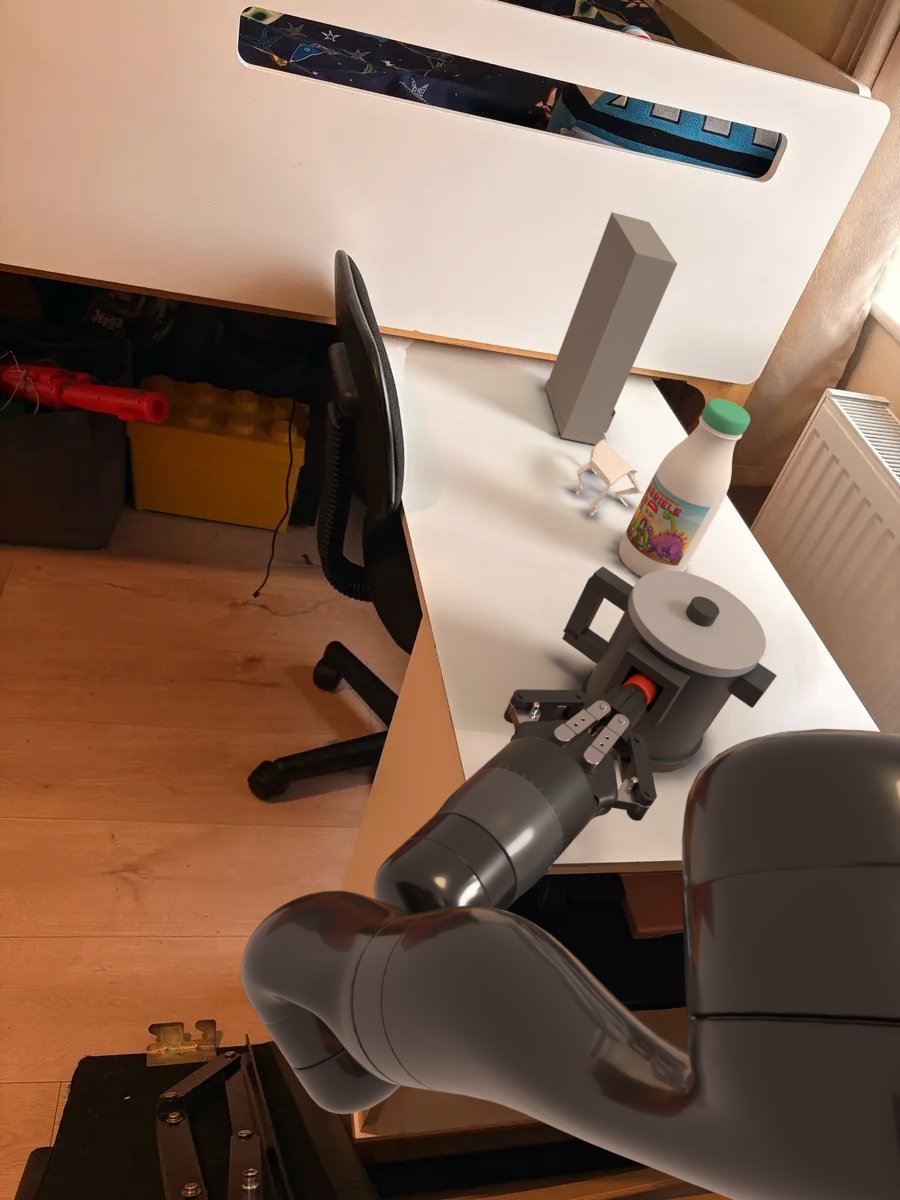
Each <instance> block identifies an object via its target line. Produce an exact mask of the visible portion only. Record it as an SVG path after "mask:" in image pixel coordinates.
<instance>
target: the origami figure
mask: <svg viewBox="0 0 900 1200" xmlns="http://www.w3.org/2000/svg"><path fill="white" fill-rule="evenodd" d="M588 469H591V470H592V472H593V473H594V474H595V475H597V476H599V478H600V479H601V480H602V482H603V483H604V485H606V486H605V487H604V489H603V490H602V491H601V492H600V494H599V495H598V496H596V498H595V499H594V500H592V502H590V507H592V508H593V509H592V510H591V511H589V513H588V515H589V516H590V517H593V516H594V515H595V513H596V512H597V511H598V506H597V505H598V504H599V503H600V502H601V501H602V500H603V499H604V497H605V496H606V494H607V493H608V492H609V490H610V488H611V487H613V486H614V485H615V484H616V482H618V481H619V480H620V479H622V478H623V477H625V476H627V478H628V479H629V481H630V482H631V485H633V487H631V488H626V489H622V490H618V491H614V494H615V496H616V497H617V498H618V500H620V502H621V503H623V505H624V506H625V507H629V505H628V504H627V502H626V501H625V500H624V499H623V497H621V496H628V495H637V494H644V491H643V488H642V487H641V486H640V483H639V481H638V479H637V477H636V476H635V474H637V473H638V470H637V469H636V468H634V467H633V466H631V464H630V463H628V462H627V461H626V459H624V458H623V457H622V455H620V454H619V452H617V451H616V450H615V449H614V448H613V447H612V446H611V445H610V444H609V443H608V442H607V441H606V440H605V439H603V440H601V441H599V442H598V443H597V444H596V445H594V446H593V447H592V449H591V450H590V456H589V461H588V463H587V464H586V465H584V466H582V467H581V468H579V469H578V470H576V474H577V480H578V484H579V488H578V489H577V491H575V495H576V496H579V493H581V492H582V490H583V489H584V488H583V482H582V473H584V472H585V471H586V470H588Z"/></svg>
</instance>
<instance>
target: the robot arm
mask: <svg viewBox="0 0 900 1200" xmlns="http://www.w3.org/2000/svg"><path fill="white" fill-rule="evenodd" d="M644 697H645V694H643V693H642V692H641V691H639V690H637V689H636V688H635V687H634V686H632V685H631V684H629V685H628V686H627V687H626V688H624V687H623V686H622V685H619V686H616V687H615V688H614V689H612V690H611V691H610V693H608V694H607V695H606V696H605V697H604V698H603V699H602V700H599V701H597V702H593V701H590V700H588V699H587V695H586V694H585V693H584V692H583V691H580V690H578V689H526V688H525V689H522V688H521V689H519V688H518V689H516V690H514V691H513V693H512V695H511V697H510V699H509V701H508V702H507V705H506V708H505V711H504V713H503V719H504V720H505V721H506V722H507V723H509V724H512V725H513V728H514V733H513V734H512V735H511V736H510V740H509V742H508V743H507V744H506V745H504V747H503V748H501V749H500V750H499V751H498V752H497V753H496V754H495V755H493V757H491V758H490V759H488V761H486V762H485V764H484V765H482V767H480V768H479V769H478V770H477V771H476V772H474V774H472V775H471V776H470V777H469V778H468V779H466V781H465V782H464V783H462V784H461V785H460V786H459V787H458V788H457V789H455V790H454V791H453V792H452V793H451V794H450V795H449V796H448V797H447V798H446V800H445V801H444V802H443V803H442V804H441V806H440V808H439V809H438V810H437V811H436V812H435V813H434V814H433V816H432V817H431V818H429V820H427V821H426V822H425V823H424V824H423V825H422V826H420V828H419V829H417V830H416V831H415V832H414V833H413V834H412V835H410V837H409V838H408V839H406V840H405V841H404V842H403V843H401V844H400V845H399V846H398V847H397V848H396V849H395V850H394V851H393V852H392V853H391V854H390V855H389V856H388V857H386V859H384V861H383V862H382V864H381V865H380V867H379V868H378V869H377V872H376V874H375V879H374V882H373V896H374V898H373V897H370V896H367V895H365V894H361V893H357V892H352V891H348V890H347V891H346V890H323V891H317V892H313V893H308V894H304V895H301V896H299V897H296V898H293V899H291V900H290V901H287V902H286V903H284V904H282V905H280V906H279V907H278V908H276V909H274V911H272V912H271V913H270V914H268V915H267V916H266V917H265V918H264V919H263V920H262V921H261V922H260V923H259V924H258V926H257V927H256V928H255V929H254V931H253V932H252V933H251V935H250V936H249V939H248V940H247V943H246V945H245V947H244V949H243V954H242V957H241V962H240V981H241V986H242V990H243V993H244V995H245V997H246V999H247V1002H249V1005H250V1007H251V1008H252V1009H253V1011H254V1013H255V1014H256V1016H257V1018H258V1019H259V1020H260V1022H261V1023H262V1025H263V1026H264V1028H265V1030H266V1031H267V1033H268V1034H269V1035H270V1037H271V1038H272V1040H273V1041H274V1043H275V1045H276V1046H277V1048H278V1049H279V1051H280V1052H281V1054H282V1055H283V1057H284V1058H285V1060H286V1061H287V1063H288V1064H289V1066H290V1067H291V1070H292V1071H293V1073H294V1074H295V1076H296V1078H297V1079H298V1081H299V1082H300V1084H301V1085H302V1087H303V1088H304V1090H305V1091H306V1093H307V1094H308V1096H309V1097H310V1098H311V1099H312V1100H313V1101H314V1102H315V1103H316V1104H317V1106H318V1107H320V1108H322V1109H323V1110H325V1111H327V1112H329V1113H333V1114H339V1115H348V1114H356V1113H360V1112H362V1111H366V1110H369V1109H371V1108H373V1107H375V1106H377V1105H378V1104H380V1103H381V1102H383V1101H385V1100H386V1099H388V1098H389V1097H390V1096H392V1095H393V1094H394V1093H395V1092H396V1091H397V1090H398V1089H399V1088H400V1087H406V1088H411V1089H417V1090H423V1091H430V1092H436V1093H444V1094H451V1095H457V1096H458V1095H459V1096H465V1097H470V1098H475V1099H479V1100H483V1101H486V1102H490V1103H494V1104H496V1105H500V1106H503V1107H506V1108H509V1109H511V1110H514V1111H517V1112H518V1113H522V1114H524V1115H526V1116H528V1117H530V1118H532V1119H535V1120H537V1121H539V1122H542V1123H543V1124H546V1125H549V1126H551V1127H553V1128H555V1129H557V1130H560V1131H562V1132H564V1133H566V1134H568V1135H571V1136H573V1137H575V1138H577V1139H580V1140H582V1141H585V1142H587V1143H589V1144H592V1145H594V1146H596V1147H599V1148H602V1149H603V1150H607V1151H609V1152H611V1153H614V1154H616V1155H618V1156H621V1157H624V1158H627V1159H629V1160H632V1161H634V1162H637V1163H639V1164H642V1165H644V1166H646V1167H649V1168H652V1169H654V1170H656V1171H659V1172H662V1173H665V1174H667V1175H669V1176H672V1177H675V1178H677V1179H679V1180H681V1181H684V1182H687V1183H689V1184H692V1185H694V1186H697V1187H700V1188H702V1189H705V1190H707V1191H710V1192H713V1193H715V1194H718V1195H721V1196H722V1197H726V1198H728V1199H731V1200H900V734H899V733H893V732H884V731H877V730H866V729H865V730H864V729H863V730H862V729H839V728H812V729H811V728H810V729H800V730H799V729H798V730H787V731H780V732H775V733H770V734H767V735H761V736H758V737H753V738H750V739H746V740H744V741H741V742H739V743H736V744H734V745H732V746H730V747H728V748H726V749H724V750H723V751H721V752H719V753H717V755H715V756H714V758H712V759H711V760H710V761H709V762H707V764H706V765H705V766H704V767H702V768H701V770H699V771H698V773H697V774H696V776H695V778H694V780H693V782H692V784H691V787H690V789H689V791H688V794H687V797H686V802H685V808H684V814H683V824H682V832H681V833H682V834H681V835H682V836H681V885H682V894H683V895H682V897H681V903H682V904H681V905H682V906H681V907H682V932H683V934H682V935H683V958H684V985H685V1008H686V1009H685V1011H686V1012H685V1013H686V1016H687V1017H688V1018H689V1019H691V1020H690V1021H689V1022H687V1024H686V1026H687V1033H686V1034H687V1036H686V1037H687V1038H686V1039H687V1040H686V1041H687V1048H688V1049H687V1048H685V1047H683V1046H681V1045H679V1044H677V1043H675V1042H673V1041H671V1040H670V1039H668V1038H666V1037H665V1036H664V1035H661V1034H660V1033H659V1032H658V1031H657V1030H656V1029H654V1028H653V1027H651V1026H650V1025H649V1024H648V1023H647V1022H645V1021H644V1020H643V1019H641V1018H640V1017H639V1016H638V1015H636V1014H635V1013H634V1012H633V1011H631V1010H630V1008H628V1007H627V1006H626V1005H625V1004H624V1003H623V1002H622V1001H621V1000H619V998H617V996H615V995H614V993H612V992H611V991H610V990H609V989H608V988H607V987H606V986H605V984H603V982H601V980H599V978H597V976H596V975H595V974H594V973H593V972H592V971H591V970H590V969H589V968H588V967H587V966H586V965H585V964H584V963H583V962H582V961H581V960H580V959H579V958H578V957H577V956H576V955H575V954H574V953H572V951H571V950H570V949H568V947H566V945H564V944H563V943H562V942H561V941H559V939H557V937H555V936H553V935H552V934H551V933H549V931H547V930H546V929H544V928H543V927H541V926H539V925H537V924H536V923H534V922H533V921H531V920H529V919H528V918H526V917H525V916H522V915H519V914H516V913H515V912H511V911H508V909H509V908H510V907H511V905H512V904H514V903H515V901H516V900H517V899H519V898H520V897H521V896H523V895H524V894H526V893H527V892H528V891H529V890H530V889H531V888H532V887H533V886H534V885H536V884H537V882H538V881H539V880H540V879H541V878H543V877H544V876H546V875H547V874H548V873H549V872H550V870H551V869H552V867H553V864H555V862H556V861H557V860H558V859H559V858H560V856H561V855H562V854H563V853H564V852H565V851H566V849H567V848H569V846H570V845H571V844H572V843H573V842H574V841H575V839H576V838H577V837H578V836H579V835H580V834H581V832H582V831H583V830H584V829H585V828H586V827H587V826H588V824H589V823H590V822H592V820H594V819H595V818H598V817H602V816H605V815H607V814H608V813H609V812H610V811H611V810H612V809H617V810H623V811H626V814H627V816H628V818H630V819H631V820H633V821H636V822H640V821H642V820H643V818H644V817H645V815H646V814H647V812H648V811H649V809H650V808H651V807H652V806H653V803H654V802H655V801H656V799H657V797H658V794H657V789H656V785H655V784H656V783H655V780H654V774H653V772H652V769H651V764H650V760H649V755H648V750H647V745H646V740H645V738H644V737H643V736H642V735H640V734H638V733H633V731H632V729H631V728H632V727H633V726H634V725H635V724H636V723H637V722H638V721H639V719H640V718H641V716H642V714H643V713H644V711H645V709H646V706H647V704H646V703H645V702H644V701H642V700H643V699H644ZM602 727H604V729H603V730H602V731H601V733H600V734H599V735H598V737H597V738H595V737H593V736H594V735H595V734H596V733H597V732H598V731H599V730H600V729H601V728H602ZM613 749H615V750H616V751H617V753H618V754H619V755H618V760H617V763H618V769H619V776H620V781H621V784H620V786H619V788H618V781H617V773H616V772H617V771H616V764H615V763H616V762H615V758H614V757H613V756H612V754H611V752H612V751H613Z"/></svg>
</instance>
